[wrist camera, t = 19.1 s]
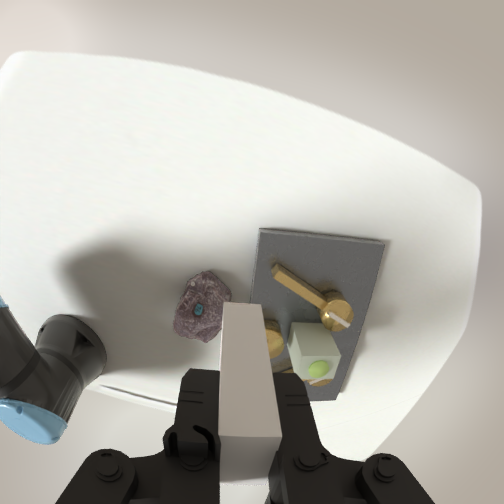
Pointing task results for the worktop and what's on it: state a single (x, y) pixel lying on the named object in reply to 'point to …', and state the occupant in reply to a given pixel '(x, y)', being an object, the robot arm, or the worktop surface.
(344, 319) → the knob
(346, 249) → the grey knob board
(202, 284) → the rock
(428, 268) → the worktop surface
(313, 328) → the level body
